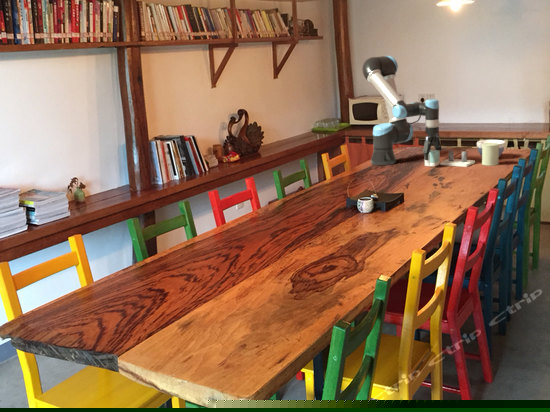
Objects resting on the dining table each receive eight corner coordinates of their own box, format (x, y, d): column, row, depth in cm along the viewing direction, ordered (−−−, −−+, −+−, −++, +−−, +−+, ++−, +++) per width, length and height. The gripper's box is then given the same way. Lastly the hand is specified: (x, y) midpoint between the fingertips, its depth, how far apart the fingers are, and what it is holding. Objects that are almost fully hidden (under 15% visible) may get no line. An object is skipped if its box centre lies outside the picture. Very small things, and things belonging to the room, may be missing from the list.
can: (499, 165, 358) (500, 144, 355) (482, 165, 360) (483, 144, 357) (497, 162, 367) (498, 141, 364) (480, 162, 369) (481, 142, 366)
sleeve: (425, 165, 371) (425, 152, 369) (429, 163, 375) (429, 150, 373) (434, 166, 367) (434, 152, 365) (439, 164, 371) (439, 150, 369)
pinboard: (440, 164, 370) (440, 152, 368) (448, 161, 379) (448, 148, 377) (466, 166, 360) (466, 153, 358) (474, 162, 369) (475, 150, 367)
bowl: (508, 159, 373) (508, 143, 371) (481, 160, 374) (481, 144, 371) (499, 154, 389) (499, 139, 386) (473, 156, 389) (473, 140, 386)
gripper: (428, 130, 354) (428, 167, 359) (447, 123, 372) (447, 160, 378) (416, 129, 359) (416, 166, 364) (435, 123, 377) (435, 159, 382)
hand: (432, 163), depth 371 cm, fingers open, 12 cm apart
